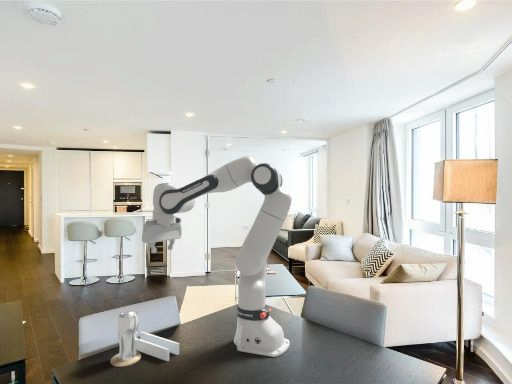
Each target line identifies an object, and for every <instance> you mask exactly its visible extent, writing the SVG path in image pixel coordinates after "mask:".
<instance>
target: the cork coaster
mask: <svg viewBox="0 0 512 384" xmlns="http://www.w3.org/2000/svg"><path fill="white" fill-rule="evenodd" d="M136 353H137V356H136V357H135V358H134V359H132V360H130V361H120V360H119V359H118V356H119V353H117V354H114V356H112V357H111V359H110V364H111V365H112V366H113V367H117V368H119V367H120V368H121V367H128V366H131V365H134V364H137V363H138V362H139V361H140V360H141V359H142V352H140V351H137V350H136Z"/></svg>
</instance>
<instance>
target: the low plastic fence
mask: <svg viewBox="0 0 512 384" xmlns="http://www.w3.org/2000/svg"><path fill="white" fill-rule="evenodd" d="M139 335H140V336H139V338H138V337H137V340H136V351H137V352H139V353H144V354H146V355H148V356H152V357H154V358H157V359H159V360H162V361H166V362H169V361H170V354H174V355H176V356H179V355H180V342H176V341H174V340H171V339H167V338H164V337H160V336H158V335H155V334H152V333H148V332H145V331H143V330H142V331H140V333H139Z"/></svg>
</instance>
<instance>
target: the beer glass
mask: <svg viewBox="0 0 512 384" xmlns="http://www.w3.org/2000/svg"><path fill="white" fill-rule="evenodd" d="M139 322H140V321H139V313H138V312H137V311H133V310H132V311H125V312H122V313H120V314H118V319H117V339H118V343H119V353H118V354H119V356H118V359H119V360H120V361H130V360H132V359H134V358H135V357H136V356H137V353H136V351H137V350H136V340H137V338H138V334H139Z"/></svg>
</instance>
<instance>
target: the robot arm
mask: <svg viewBox="0 0 512 384" xmlns="http://www.w3.org/2000/svg"><path fill="white" fill-rule="evenodd" d="M282 177H283V176H282V175H281V173H280V171H279V170H278V168H276V167H275V166H273V165H272V164H270V163H265V162H264V163H263V162H262V163H259V164H258V163H257V162H256V160H255V159H254V158H253V157H251V156H248V155H246V156H242V157H238V158H236V159H234V160H231V161H229V162H227V163H225V164H223V165H222V166H220V167H219V168H216V169H215V170H214V171H212V172H210V173H208V174H207V175H204V176H202V177H201V178H199V179H197V180H195V181H193V182H190V183H189V184H186V185H184V186H181V187H179V188H178V187H177V186H175V185H173V183H171V182H164V183H158V184H156V185H155V187H154V188H153V189H154V190H153V193H152V194H153V195H152V206H153V209H152V220H147V221H145V222H144V224H143V228H142V233H141V241H142V243H143V244H148V245H149V247H150V250H151V251H150V252H151V253H152V254H156V253H157V252H158V248H156V246H155V245H156V243H159V242H166V241H169V244H168V245H167V250H168V251H171V250H173V249H174V244H175V242H176V240H179V239H181V238H182V235H183V234H182V232H183V231H182V230H183V229H182V224H181V223H182V218H180V217H178V216H176V214H181V213H182V214H183V213H187V212H190V211H191V210H192V209H193V208H194V207H195V201H196V200H195V199H197V198H199V197H201V196H204V195H207V194H212V193H226V192H229V191H233V190H235V189H238V188H239V187H241V186H243V185H245V184H247V183H252V185H253V186H254V187H255V189H257V190H258V191H259V192H260V193H261V194H262V195H263V196H264V199H263V202H262V204H261V207H260V208H259V210H258V213H257V215H256V216H255V219H254V221H253V224H252V225H251V227H250V229H249V231H248V233H247V236H246V237H245V239H244V241H243V243H242V245H241V247H240V249H239V250H238V253H237V254H236V259H235V260H236V262H235V263H236V268H237V270H238V271H239V280H238V286H237V287H238V288H237V290H238V291H237V292H238V296H237V306H236V316H237V321H236V322H237V323H236V329H235V330H236V331H235V334H234V339H233V344H235V346H236V349H237V351H238V352H243V353H249V354H253V355H261V356H266V357H272V358H277V357H280V356H281V355H283V354H284V353H286V352H287V351H288V349H289V348H290V346H291V345H290V344H291V343H290V339H288V338H285V333H284V330H283V327H282V326H281V325H280V324H279V323H277V321H276V320H274V318H272V316H270V312H272V308H271V307H270V308H269V309H268V306H267V304H266V285H267V282H266V281H267V261H268V257H269V256H270V253H271V252H272V249H273V247H274V245H275V242H276V240H277V238H278V236H279V234H280V231H281V229H282V227H283V225H284V224H285V221H286V218H287V216H288V213H289V211H290V208H291V204H292V200H293V199H292V195H291V194H290V193H289V192H288V191H287V190H285V189H284V188H282V185H283V178H282ZM174 214H175V215H174Z"/></svg>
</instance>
